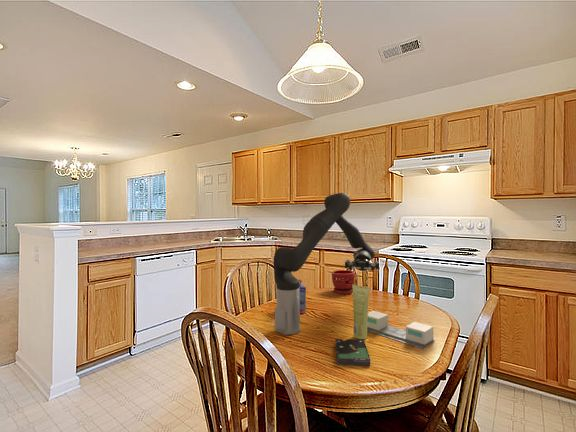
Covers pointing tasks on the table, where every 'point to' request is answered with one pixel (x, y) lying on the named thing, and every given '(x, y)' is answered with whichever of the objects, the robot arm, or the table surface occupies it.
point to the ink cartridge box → (302, 298)
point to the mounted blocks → (413, 330)
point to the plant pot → (343, 281)
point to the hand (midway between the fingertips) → (361, 267)
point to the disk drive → (352, 352)
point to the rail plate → (397, 335)
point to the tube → (360, 310)
